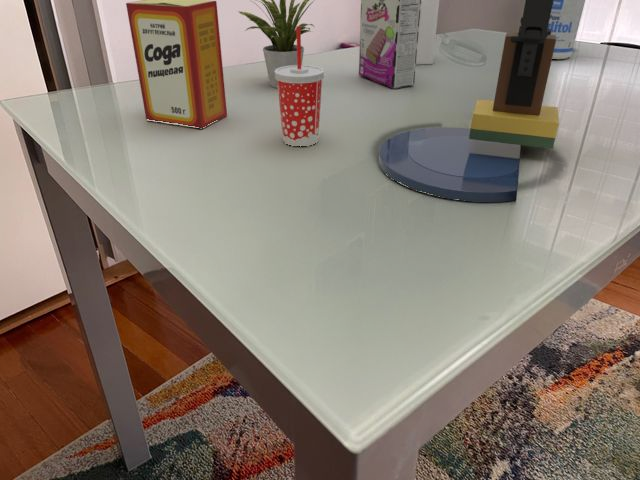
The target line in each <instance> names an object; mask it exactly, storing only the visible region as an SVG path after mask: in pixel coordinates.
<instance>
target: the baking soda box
mask: <svg viewBox="0 0 640 480" xmlns="http://www.w3.org/2000/svg"><path fill="white" fill-rule="evenodd" d="M125 5H126V11H127V18H128V23H129V28H130V29H129V30H130V34H131V41H132V47H133V51H134V57H135V63H136V70H137V75H138V80H139V87H140V93H141V98H142V103H143V108H144V115H145V120H146V119H149V120H155V121H163V122H169V123H178V124H183V125H188V126H195V127H199V128H203V127H205V126H207V125H208V124H210V123H212V122H214V121H216V120H219V119H221V118H223V117H225V118H227V117H228V110H227V100H226V98H227V97H226V89H225V77H224V67H223V58H222V57H223V56H222V45H221V35H220V34H221V33H220V25H219V15H218V5H217V0H137V1H131V2H130V1H129V2H126V3H125ZM226 116H227V117H226ZM223 119H224V118H223ZM221 120H222V119H221ZM219 121H220V120H219Z"/></svg>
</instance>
